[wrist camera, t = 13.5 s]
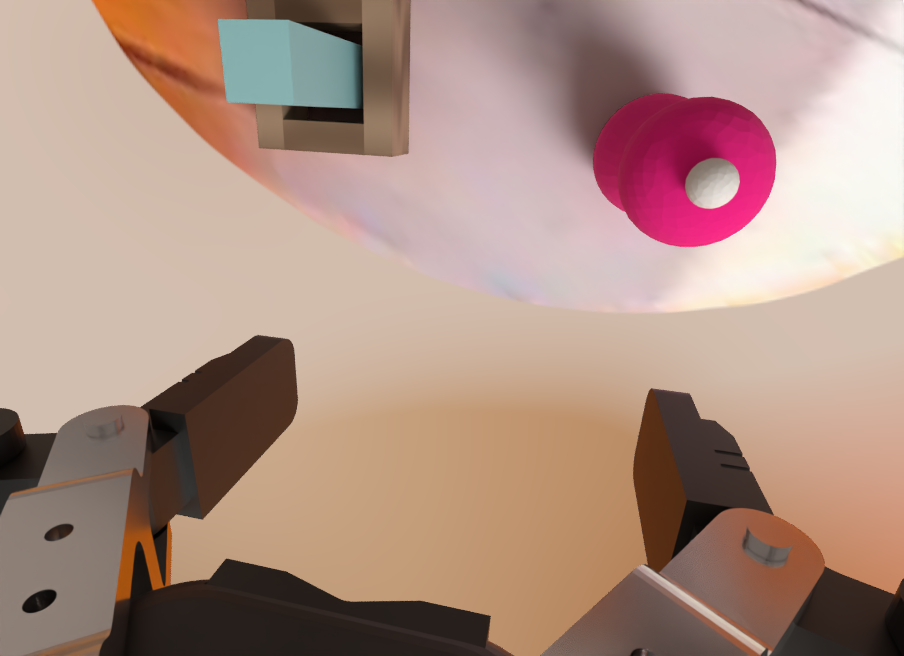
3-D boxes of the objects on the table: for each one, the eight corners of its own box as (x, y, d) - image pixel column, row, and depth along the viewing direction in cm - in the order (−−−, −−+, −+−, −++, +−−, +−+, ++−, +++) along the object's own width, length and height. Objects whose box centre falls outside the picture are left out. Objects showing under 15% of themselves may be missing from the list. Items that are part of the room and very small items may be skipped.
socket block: (276, -2, 38) (244, -15, 34) (410, 0, 36) (392, -14, 32) (286, 145, 42) (258, 148, 38) (408, 153, 40) (391, 156, 36)
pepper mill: (587, 107, 36) (602, 94, 18) (700, 86, 34) (846, 49, 16) (594, 212, 39) (615, 295, 20) (701, 198, 37) (829, 275, 19)
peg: (318, 47, 38) (217, 19, 27) (370, 48, 38) (288, 19, 27) (321, 107, 40) (226, 102, 29) (371, 109, 39) (293, 105, 28)
